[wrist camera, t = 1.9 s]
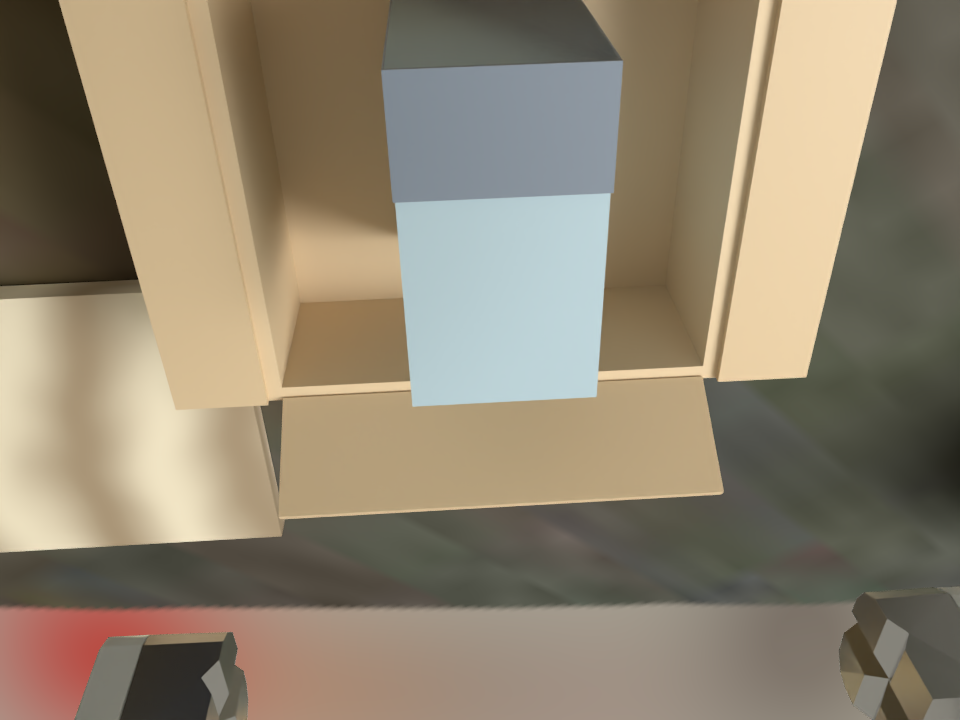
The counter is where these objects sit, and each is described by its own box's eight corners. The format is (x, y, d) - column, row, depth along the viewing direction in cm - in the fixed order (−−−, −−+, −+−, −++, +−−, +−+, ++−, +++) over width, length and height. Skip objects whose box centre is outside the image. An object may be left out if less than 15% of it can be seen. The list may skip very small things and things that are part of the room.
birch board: (232, 275, 33) (227, 288, 32) (284, 520, 40) (281, 536, 39) (-119, 291, 32) (-134, 305, 31) (0, 536, 40) (-9, 552, 39)
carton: (842, -244, 24) (1044, -247, 16) (740, 329, 35) (831, 491, 27) (88, -223, 24) (-78, -216, 16) (223, 355, 35) (166, 529, 27)
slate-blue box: (559, -34, 26) (623, 61, 18) (552, 232, 32) (599, 399, 23) (393, -28, 26) (380, 70, 18) (413, 238, 31) (410, 409, 23)
